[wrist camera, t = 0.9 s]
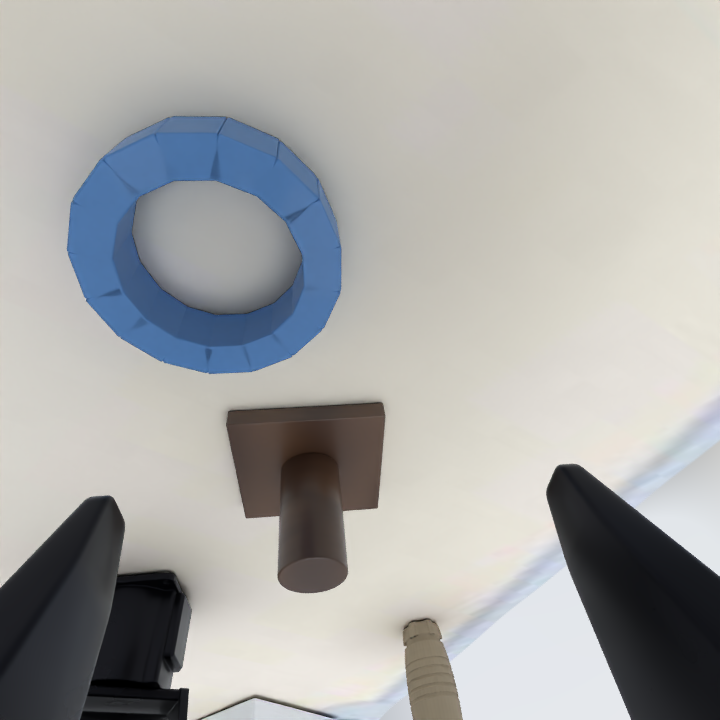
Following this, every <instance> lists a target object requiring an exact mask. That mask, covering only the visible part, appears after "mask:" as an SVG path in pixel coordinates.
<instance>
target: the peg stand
mask: <svg viewBox="0 0 720 720" xmlns="http://www.w3.org/2000/svg"><path fill="white" fill-rule="evenodd" d="M226 426H227V431H228V436H229V441H230V445H231V450H232V455H233V459H234V464H235V469H236V474H237V478H238V483H239V488H240V493H241V497H242V502H243V507H244V512H245V516H246V518H258V517H271V516H280V519H279V550H278V580H279V582H280V584H281V585H282V586H283V587H284V588H286V589H288V590H291V591H294V592H299V593H317V592H323V591H327V590H330V589H332V588H335V587H337V586H338V585H340V584H341V583H342V582H343V581H344V580H345V579H346V577H347V575H348V565H347V554H346V543H345V532H344V521H343V511H349V510H362V509H375V508H378V498H379V486H380V474H381V462H382V450H383V438H384V426H385V412H384V407H383V404H382V403H374V404H356V405H337V406H319V407H301V408H282V409H264V410H245V411H229V412H228V417H227V423H226Z"/></svg>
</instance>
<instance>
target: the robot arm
mask: <svg viewBox="0 0 720 720" xmlns="http://www.w3.org/2000/svg"><path fill="white" fill-rule="evenodd" d="M546 496H547V501H548V504H549V507H550V511H551V514H552V517H553V521H554V524H555V527H556V531H557V534H558V537H559V540H560V544H561V547H562V550H563V554H564V557H565V560H566V563H567V566H568V569H569V571H570V574H571V576H572V579H573V581H574V584H575V586H576V588H577V591H578V593H579V596H580V598H581V601H582V603H583V605H584V608H585V610H586V612H587V615H588V617H589V620H590V622H591V624H592V627H593V629H594V632H595V634H596V636H597V639H598V641H599V644H600V646H601V648H602V651H603V653H604V655H605V658H606V660H607V663H608V665H609V667H610V670H611V672H612V675H613V677H614V679H615V682H616V684H617V686H618V689H619V691H620V694H621V696H622V698H623V701H624V703H625V706H626V708H627V710H628V713H629V715H630V717H631V720H720V576H718V575H717V574H716V573H715V572H713V571H712V570H711V569H710V568H708V567H707V566H706V565H705V564H703V563H702V562H701V561H700V560H698V559H697V558H696V557H694V556H693V555H692V554H691V553H689V552H688V551H687V550H685V549H684V548H683V547H682V546H681V545H679V544H678V543H677V542H675V541H674V540H673V539H672V538H671V537H669V536H668V535H667V534H665V533H664V532H663V531H662V530H661V529H659V528H658V527H657V526H655V525H654V524H653V523H652V522H650V521H649V520H648V519H647V518H645V517H644V516H643V515H642V514H640V513H639V512H638V511H637V510H635V509H634V508H633V507H632V506H630V505H629V504H628V503H627V502H625V501H624V500H623V499H622V498H620V497H619V496H618V495H617V494H615V493H614V492H613V491H611V490H610V489H609V488H608V487H606V486H605V485H604V484H603V483H601V482H600V481H599V480H598V479H596V478H595V477H594V476H593V475H591V474H590V473H589V472H588V471H586V470H585V469H584V468H583V467H581V466H579V465H577V464H563V465H558V466H557V467H556V469H555V471H554V473H553V475H552V477H551V480H550V482H549V484H548V486H547V491H546ZM124 532H125V522H124V519H123V516H122V514H121V512H120V510H119V508H118V506H117V504H116V502H115V500H114V498H113V497H111V496H93V497H89V498H88V499H86V500H85V501H84V502H83V503H82V504H81V505H80V506H79V507H78V508H77V509H76V510H75V511H74V512H73V513H72V514H71V515H70V516H69V517H68V518H67V519H66V520H65V521H64V522H63V523H62V525H61V526H60V527H59V528H58V529H57V530H56V531H55V532H54V533H53V534H52V535H51V536H50V537H49V538H48V539H47V540H46V541H45V542H44V543H43V544H42V545H41V546H40V547H39V548H38V549H37V550H36V552H35V553H34V554H33V555H32V556H31V557H30V558H29V559H28V560H27V561H26V562H25V563H24V564H23V565H22V566H21V567H20V568H19V569H18V570H17V571H16V572H15V573H14V574H13V575H12V576H11V577H10V579H9V580H8V581H7V582H6V583H5V584H4V585H3V586H2V587H1V588H0V720H187V710H188V695H189V688H180V689H179V690H178V689H170V687H171V682H172V676H173V672H179V671H180V670H181V668H182V666H183V660H184V654H185V648H186V642H187V636H188V630H189V624H190V619H191V613H192V609H191V607H190V604H189V602H188V600H187V597H186V595H185V594H184V593H183V592H182V590H181V588H180V585H179V583H178V581H177V578H176V576H175V575H174V574H172V573H158V574H147V575H135V576H124V577H117V573H118V567H119V561H120V556H121V550H122V544H123V538H124Z"/></svg>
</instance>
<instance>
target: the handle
mask: <svg viewBox="0 0 720 720" xmlns="http://www.w3.org/2000/svg"><path fill="white" fill-rule="evenodd" d="M440 639H442V636H441V633H440V630H439V627H438V625H437V624H436V623H432V622H431V620H424V621H420V622H411V623H409V625H408V627H407V628H406V629H404V631H403V643H404V646H407V648H406V649H405V666H406V677H407V686H408V693H409V700H410V705H411V711H412V716H413V720H463V719H462V713H461V707H460V701H459V699H458V692H457V689H456V684H455V680H454V676H453V672H452V670H451V665H450V662H449V659H448V656H447V653H446V650H445V648H444V645H443V643H442V642H440Z"/></svg>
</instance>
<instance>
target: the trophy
mask: <svg viewBox="0 0 720 720" xmlns="http://www.w3.org/2000/svg"><path fill="white" fill-rule="evenodd" d="M202 720H336V719H332V718H328V717H324V716H321V715H317V714H314V713H310V712H306V711H302V710H299V709H295V708H292V707H287V706H283V705H280V704H276V703H272V702H268V701H265V700H260V699H257V698H253V699H251V700H248V701H246V702H243V703H241V704H239V705H236V706H233V707H231V708H229V709H226V710H224V711H221V712H219V713H217V714H214V715H212V716H209V717H207V718H204V719H202Z"/></svg>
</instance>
